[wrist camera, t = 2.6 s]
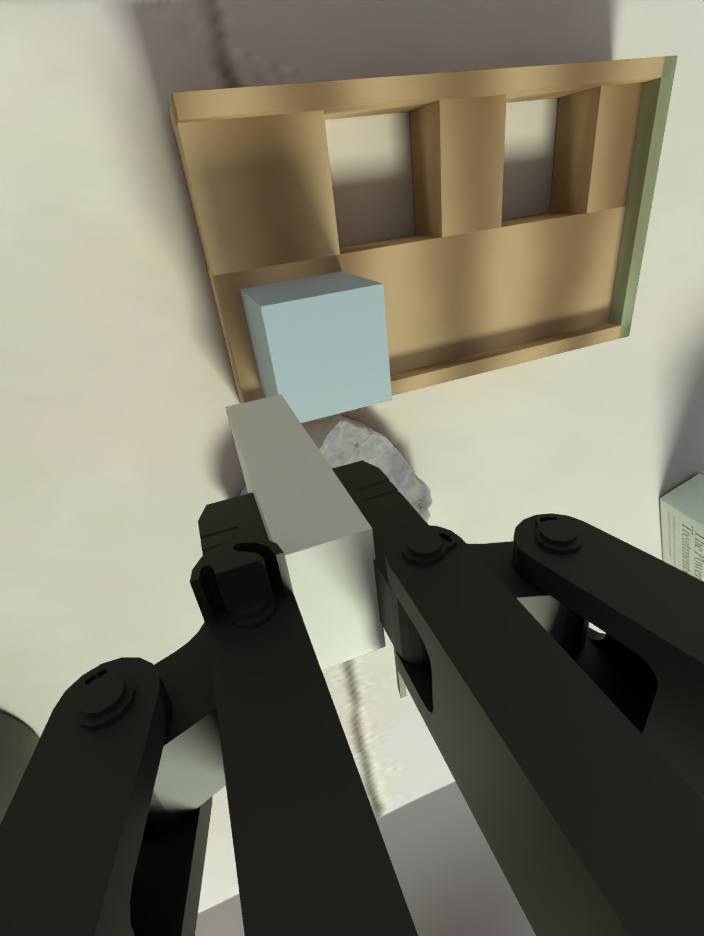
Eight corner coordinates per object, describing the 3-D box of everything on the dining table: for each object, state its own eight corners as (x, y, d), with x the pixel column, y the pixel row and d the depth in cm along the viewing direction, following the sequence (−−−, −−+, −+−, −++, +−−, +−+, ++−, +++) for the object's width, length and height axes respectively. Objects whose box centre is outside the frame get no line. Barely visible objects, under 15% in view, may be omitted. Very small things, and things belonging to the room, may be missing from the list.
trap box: (240, 404, 28) (253, 430, 24) (168, 111, 21) (172, 92, 18) (581, 323, 34) (628, 335, 30) (612, 74, 27) (677, 55, 24)
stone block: (304, 382, 31) (215, 514, 30) (340, 395, 27) (238, 547, 26) (416, 470, 38) (344, 579, 37) (458, 491, 34) (378, 613, 33)
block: (262, 391, 25) (284, 427, 21) (240, 289, 22) (260, 306, 18) (353, 370, 26) (392, 399, 22) (342, 271, 24) (383, 283, 19)
